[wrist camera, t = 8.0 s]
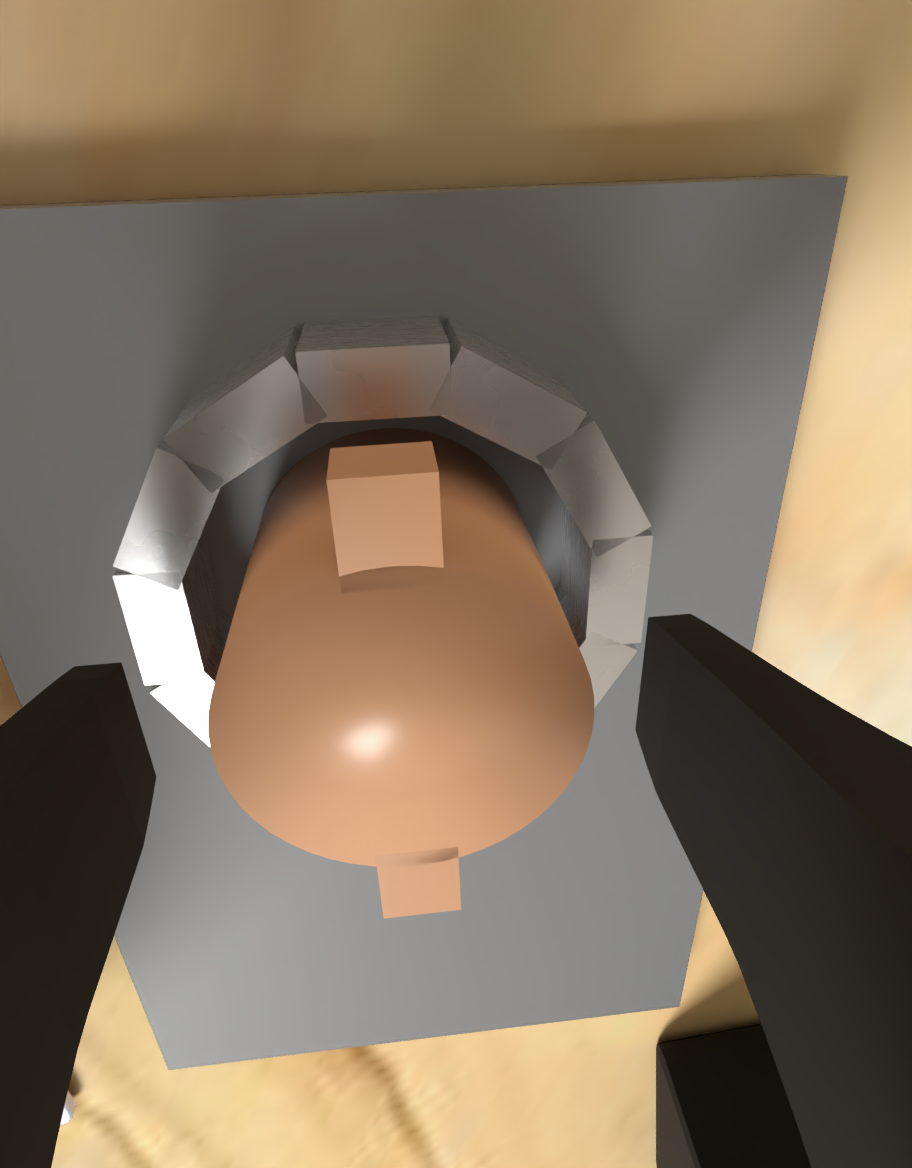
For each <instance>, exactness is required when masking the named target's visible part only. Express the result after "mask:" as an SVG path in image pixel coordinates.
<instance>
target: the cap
mask: <svg viewBox="0 0 912 1168" xmlns="http://www.w3.org/2000/svg"><path fill="white" fill-rule="evenodd" d="M593 723H594V693H593V688H592V682H591V677H590V675H589V672H588V669H587V666H586V664H585V661H584V658H583V656H582V654H581V651H580V649H579V647H578V644H577V642H576V640H575V637H574V635H573V633H572V630H571V628H570V626H569V623H568V621H567V619H566V616H565V614H564V612H563V609H562V607H561V605H560V602H559V600H558V598H557V595H556V593H555V591H554V588H553V586H552V584H551V581H550V579H549V577H548V575H547V572H546V570H545V568H544V565H543V563H542V561H541V558H540V556H539V554H538V551H537V549H536V547H535V544H534V542H533V540H532V537H531V535H530V533H529V530H528V528H527V526H526V523H525V521H524V519H523V516H522V514H521V512H520V509H519V507H518V505H517V502H516V500H515V499H514V497H513V495H512V493H511V491H510V489H509V488H508V486H507V485H506V483H505V482H504V481H503V479H502V478H501V477H500V475H499V474H498V473H497V472H496V471H495V470H494V469H493V468H492V467H491V466H490V465H489V464H488V463H487V462H486V461H485V460H483V459H482V458H481V457H479V456H478V455H477V454H475V453H474V452H473V451H471V450H470V449H468V448H466V447H464V446H462V445H461V444H459V443H457V442H455V441H452V440H450V439H447V438H445V437H442V436H440V435H436V434H433V433H429V432H425V431H421V430H412V429H404V428H381V429H374V430H366V431H361V432H357V433H354V434H350V435H346V436H343V437H341V438H338V439H336V440H333V441H331V442H329V443H327V444H325V445H323V446H321V447H320V448H318V449H316V450H314V451H313V452H311V453H310V454H308V455H307V456H306V457H305V458H303V459H302V460H301V461H299V462H298V463H297V464H296V465H295V466H294V467H293V468H292V469H291V470H290V471H289V472H288V473H287V474H286V475H285V476H284V477H283V479H282V480H281V481H280V483H279V484H278V485H277V487H276V488H275V490H274V491H273V493H272V495H271V497H270V499H269V501H268V503H267V504H266V507H265V510H264V513H263V515H262V518H261V521H260V525H259V528H258V532H257V535H256V539H255V542H254V546H253V549H252V553H251V556H250V560H249V563H248V567H247V570H246V574H245V578H244V581H243V585H242V588H241V592H240V595H239V599H238V602H237V606H236V609H235V613H234V616H233V620H232V623H231V627H230V630H229V634H228V637H227V641H226V644H225V648H224V651H223V655H222V659H221V662H220V666H219V669H218V673H217V676H216V680H215V683H214V687H213V690H212V694H211V700H210V705H209V711H208V737H209V743H210V749H211V754H212V757H213V760H214V763H215V765H216V768H217V771H218V773H219V775H220V777H221V779H222V781H223V783H224V784H225V786H226V788H227V790H228V791H229V793H230V794H231V795H232V796H233V798H234V799H235V800H236V802H237V803H238V804H239V806H240V807H241V808H242V809H243V810H244V811H245V812H246V813H247V814H248V815H249V816H250V817H251V818H252V819H253V820H254V821H256V822H257V823H258V824H260V825H261V826H262V827H264V828H265V829H266V830H268V831H269V832H270V833H272V834H274V835H275V836H277V837H279V838H280V839H282V840H284V841H286V842H287V843H289V844H291V845H293V846H296V847H298V848H300V849H302V850H305V851H307V852H309V853H312V854H315V855H319V856H322V857H325V858H328V859H332V860H336V861H341V862H346V863H350V864H358V865H366V866H377V872H378V880H379V887H380V895H381V903H382V910H383V918H384V919H385V918H394V917H403V916H411V915H420V914H429V913H438V912H446V911H455V910H461V894H460V875H459V857H462V856H465V855H468V854H471V853H474V852H477V851H480V850H482V849H485V848H487V847H489V846H491V845H493V844H496V843H498V842H500V841H502V840H504V839H506V838H507V837H509V836H511V835H512V834H514V833H516V832H518V831H519V830H521V829H522V828H524V827H525V826H526V825H528V824H529V823H531V822H532V821H533V820H535V819H536V818H537V817H539V816H540V815H541V814H542V813H543V812H544V811H545V810H546V809H547V808H548V807H550V806H551V805H552V804H553V803H554V802H555V800H556V799H557V798H558V797H559V796H560V795H561V794H562V792H563V791H564V790H565V789H566V788H567V786H568V785H569V783H570V782H571V780H572V779H573V777H574V776H575V774H576V773H577V771H578V769H579V767H580V765H581V763H582V761H583V759H584V756H585V754H586V752H587V748H588V745H589V742H590V739H591V736H592V729H593Z"/></svg>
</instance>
